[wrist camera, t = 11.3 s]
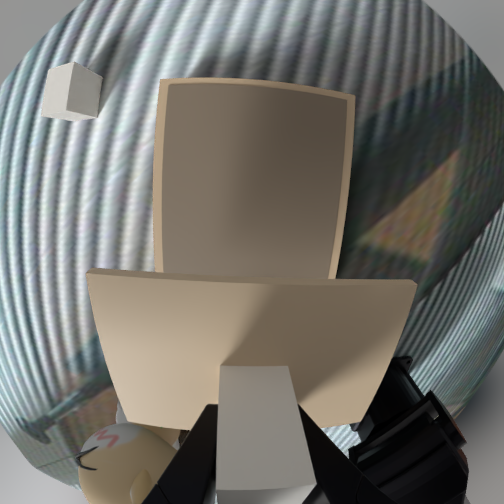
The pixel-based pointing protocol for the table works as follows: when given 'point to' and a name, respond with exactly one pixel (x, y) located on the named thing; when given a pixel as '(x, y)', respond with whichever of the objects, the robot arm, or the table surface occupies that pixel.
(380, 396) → the robot arm
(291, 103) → the carton
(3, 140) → the table surface
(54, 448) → the table surface
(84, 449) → the kitten
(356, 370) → the flap near
